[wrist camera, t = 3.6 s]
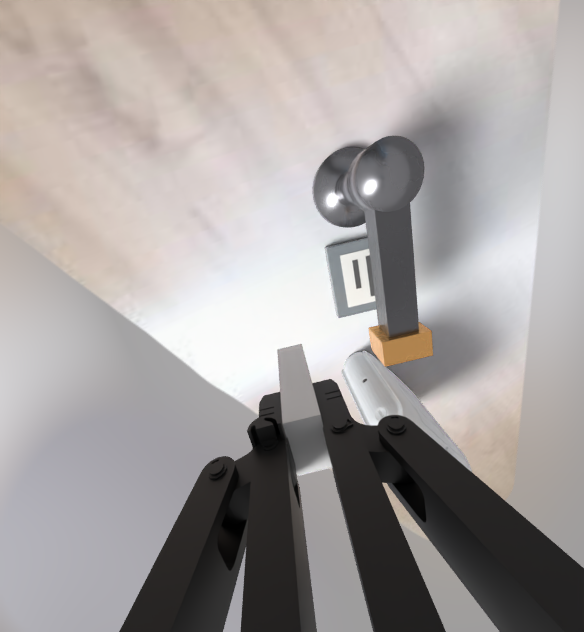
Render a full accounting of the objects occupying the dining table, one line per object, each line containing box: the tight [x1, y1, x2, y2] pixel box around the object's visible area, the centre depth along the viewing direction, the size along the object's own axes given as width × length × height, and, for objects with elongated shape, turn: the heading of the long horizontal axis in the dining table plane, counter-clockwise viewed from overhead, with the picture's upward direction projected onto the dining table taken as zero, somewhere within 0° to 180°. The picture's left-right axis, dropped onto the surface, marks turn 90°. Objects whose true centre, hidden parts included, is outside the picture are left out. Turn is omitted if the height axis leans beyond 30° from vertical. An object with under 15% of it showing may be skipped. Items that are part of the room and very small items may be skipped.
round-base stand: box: [313, 147, 366, 227], centre depth 22 cm, size 6×6×7 cm
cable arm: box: [346, 136, 433, 367], centre depth 19 cm, size 14×4×3 cm, turn 13°
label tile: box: [325, 237, 377, 318], centre depth 27 cm, size 7×6×1 cm
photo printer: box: [342, 351, 472, 472], centre depth 27 cm, size 10×4×12 cm, turn 47°
